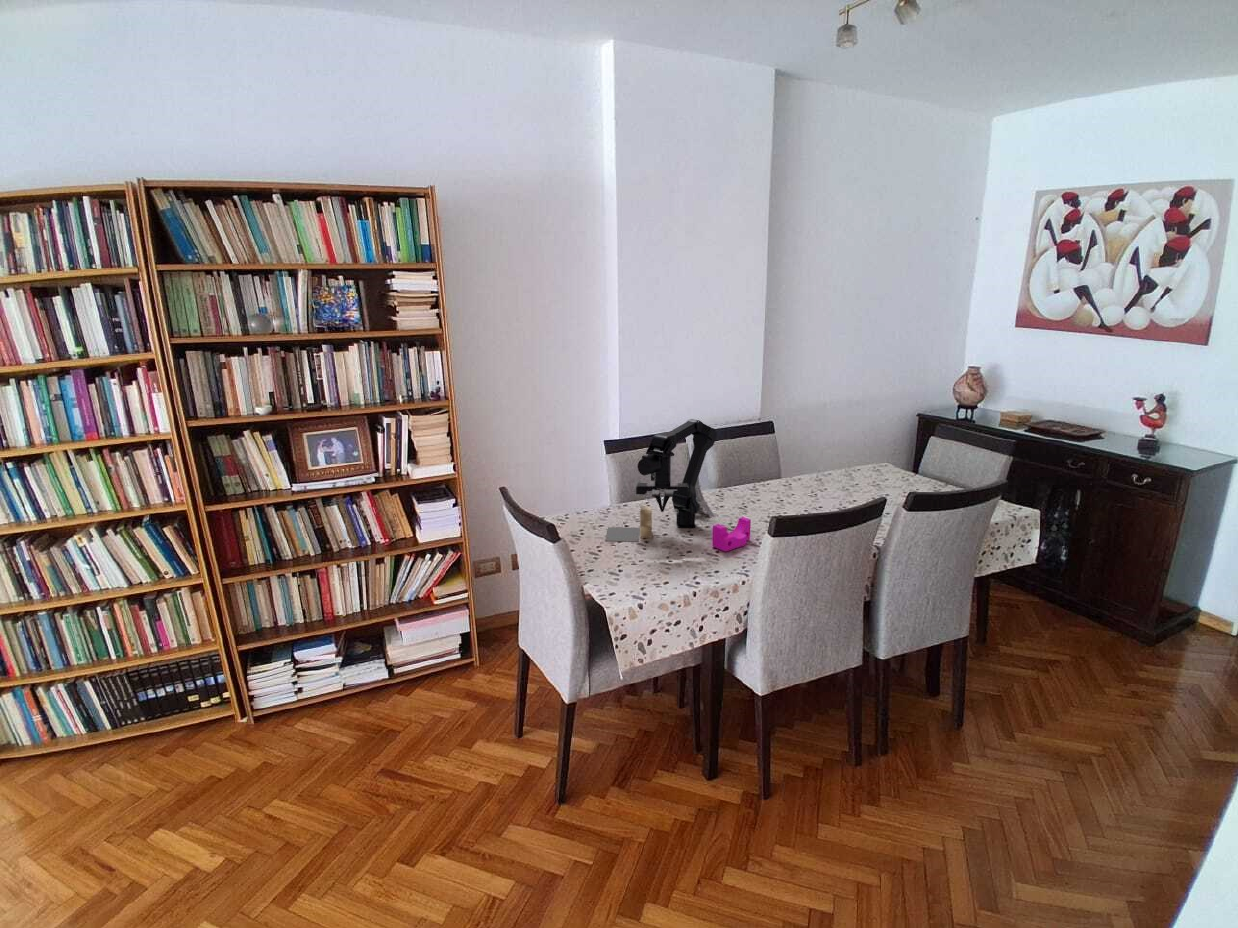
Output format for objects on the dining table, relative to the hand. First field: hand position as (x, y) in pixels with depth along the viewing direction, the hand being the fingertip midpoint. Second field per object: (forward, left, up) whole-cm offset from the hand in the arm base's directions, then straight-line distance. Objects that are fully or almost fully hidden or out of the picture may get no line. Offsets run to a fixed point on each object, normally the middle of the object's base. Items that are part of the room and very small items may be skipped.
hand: (662, 511), depth 230 cm
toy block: (-25, +7, -10) cm, 28 cm away
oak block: (+6, 0, -9) cm, 11 cm away
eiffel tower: (-12, -24, -9) cm, 29 cm away
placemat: (+14, 0, -9) cm, 17 cm away
